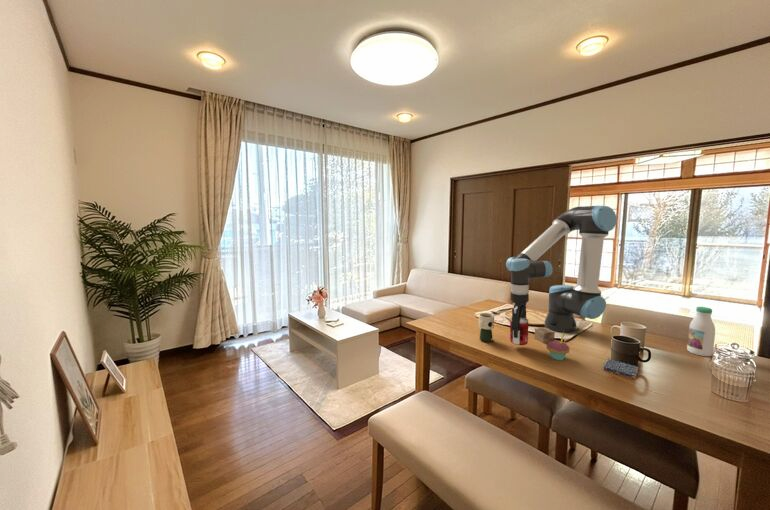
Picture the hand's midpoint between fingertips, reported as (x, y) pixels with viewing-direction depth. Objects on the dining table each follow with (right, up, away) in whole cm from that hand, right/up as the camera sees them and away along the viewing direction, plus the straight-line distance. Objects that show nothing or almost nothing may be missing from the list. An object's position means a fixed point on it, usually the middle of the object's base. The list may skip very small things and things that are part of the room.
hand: (518, 340), depth 139 cm
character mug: (-12, -3, +10) cm, 16 cm away
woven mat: (+31, -6, -21) cm, 38 cm away
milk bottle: (+74, -3, -9) cm, 75 cm away
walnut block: (+16, -2, +9) cm, 19 cm away
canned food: (0, -1, 0) cm, 1 cm away
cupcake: (+12, -5, -10) cm, 16 cm away
